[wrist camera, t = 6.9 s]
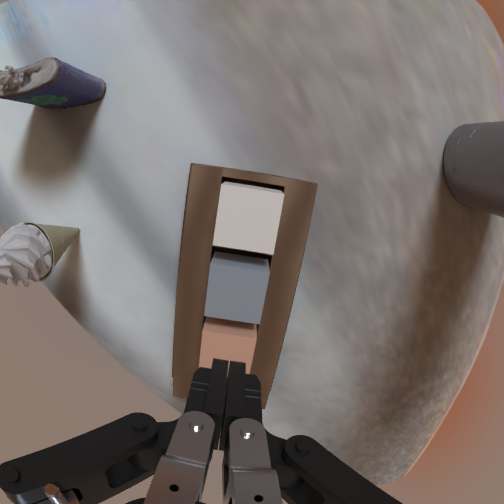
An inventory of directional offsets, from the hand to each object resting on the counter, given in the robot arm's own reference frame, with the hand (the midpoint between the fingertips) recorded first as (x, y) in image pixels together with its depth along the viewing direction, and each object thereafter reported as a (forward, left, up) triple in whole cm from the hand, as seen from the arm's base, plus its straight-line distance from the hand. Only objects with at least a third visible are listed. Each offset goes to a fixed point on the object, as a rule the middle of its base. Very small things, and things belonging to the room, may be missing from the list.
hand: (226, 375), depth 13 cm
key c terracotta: (0, +5, -12) cm, 13 cm away
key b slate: (0, 0, -12) cm, 12 cm away
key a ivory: (0, -5, -12) cm, 13 cm away
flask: (+20, -15, -16) cm, 30 cm away
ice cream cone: (+17, -1, -16) cm, 24 cm away
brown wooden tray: (0, +3, -16) cm, 17 cm away
